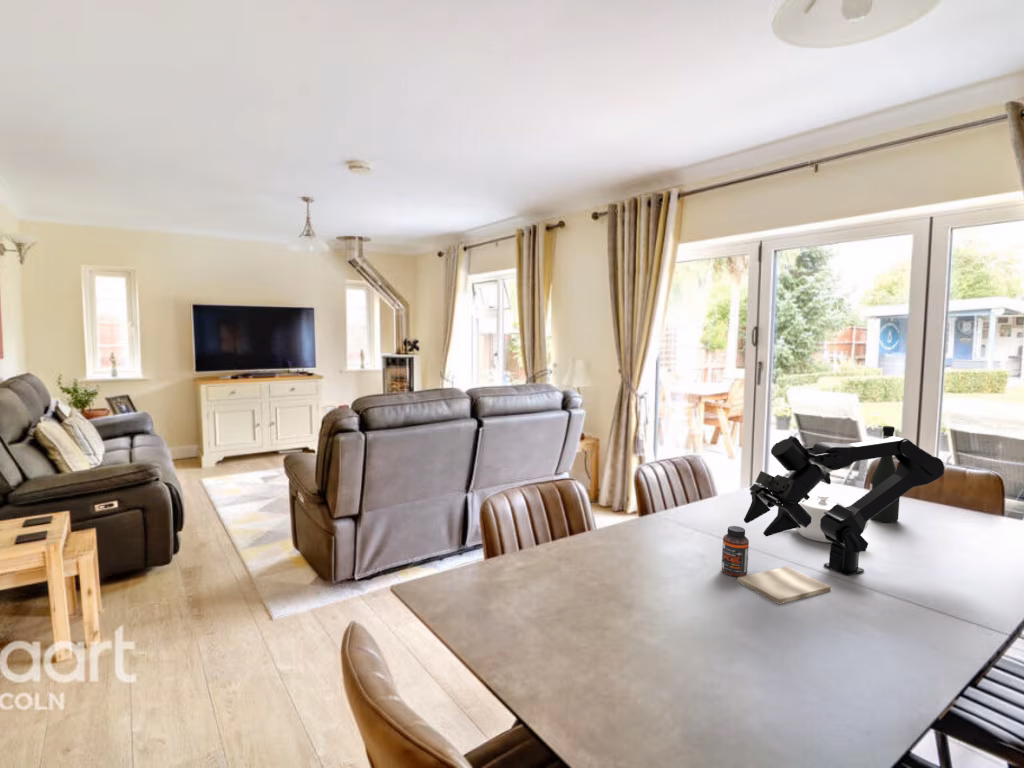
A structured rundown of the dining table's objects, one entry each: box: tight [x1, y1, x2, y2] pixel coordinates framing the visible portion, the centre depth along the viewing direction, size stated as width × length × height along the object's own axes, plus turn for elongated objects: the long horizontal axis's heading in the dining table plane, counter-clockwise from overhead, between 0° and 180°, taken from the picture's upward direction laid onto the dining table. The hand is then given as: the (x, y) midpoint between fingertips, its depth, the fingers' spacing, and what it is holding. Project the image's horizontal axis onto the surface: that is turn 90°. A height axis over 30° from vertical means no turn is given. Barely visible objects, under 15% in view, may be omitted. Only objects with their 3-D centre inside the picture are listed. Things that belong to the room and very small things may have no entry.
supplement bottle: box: [721, 525, 750, 578], centre depth 136 cm, size 6×6×11 cm
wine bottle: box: [869, 425, 901, 524], centre depth 175 cm, size 8×8×30 cm
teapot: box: [794, 494, 869, 543], centre depth 161 cm, size 25×16×12 cm, turn 40°
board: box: [737, 566, 832, 605], centre depth 129 cm, size 16×12×1 cm
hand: (754, 528), depth 136 cm, fingers open, 9 cm apart
